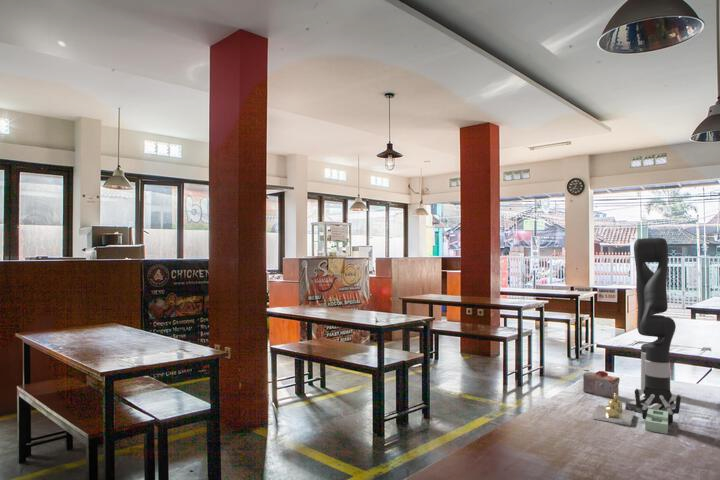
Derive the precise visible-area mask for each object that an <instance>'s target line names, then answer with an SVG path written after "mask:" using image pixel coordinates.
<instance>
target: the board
mask: <svg viewBox="0 0 720 480" xmlns="http://www.w3.org/2000/svg"><path fill="white" fill-rule="evenodd" d="M669 427H670V425H668V411H667V410H655V409H649V408H648V412H647V416H646V419H644V431H645V430H646V431H650V432H655V433H660V434H666V435H668V432H669Z"/></svg>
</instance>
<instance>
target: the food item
mask: <svg viewBox="0 0 720 480" xmlns="http://www.w3.org/2000/svg"><path fill="white" fill-rule="evenodd" d="M582 374H583V375H582V377H583V382H582V383H583V390H582V391H583V393H587V394H590V395H591V394H592V395H595V396H597V397H605V398H610V399H612V398H613V399H614V394H615V393H616V394H617V397H619V393H620V392H619V384H620V380H621V379H620V377H616V376H612V375H609V373H608V372H606V371H604V370H599V371H597V372H594V371H586V372H584V373H582Z"/></svg>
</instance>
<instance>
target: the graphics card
mask: <svg viewBox="0 0 720 480" xmlns="http://www.w3.org/2000/svg"><path fill="white" fill-rule="evenodd" d="M646 400H647V397H646V396H645V395H643V396H640V402H641V404H643V405H644V403H645V402H646ZM668 402H669V404H670V406H672V405H673V404H675V401H674V399H673V398H672V397H671V398H670V399H669V400H668ZM648 408H649V409H655V410H661V411H664V410H665V409H666V408H665V406H664V404H663V405H660V404H657V403H656V404H654V403H650V404H649V406H648V407H647V412H648ZM624 410H629V411H635V412H636V413H638V414H639V413H640V414H642V409H641V408H639V407H637V406H636V399H635V400H631V401H630V402H625V409H624Z"/></svg>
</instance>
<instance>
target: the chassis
mask: <svg viewBox="0 0 720 480" xmlns="http://www.w3.org/2000/svg"><path fill="white" fill-rule="evenodd" d="M635 416H636V415H635V411H631V410H625V409H623V401H621V400H619V399H618V396H617V394H616V393H615V394H614V397H613V399H612V398H610V399H609V400H608V405H606V406H604V405H597V407H596V408H595V410H594V412H593V414H592V419H593V420H598V421H603V422H609V423H612V424H613V423H614V424H620V425H624V426H632V425H633V420H634V419H635Z"/></svg>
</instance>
